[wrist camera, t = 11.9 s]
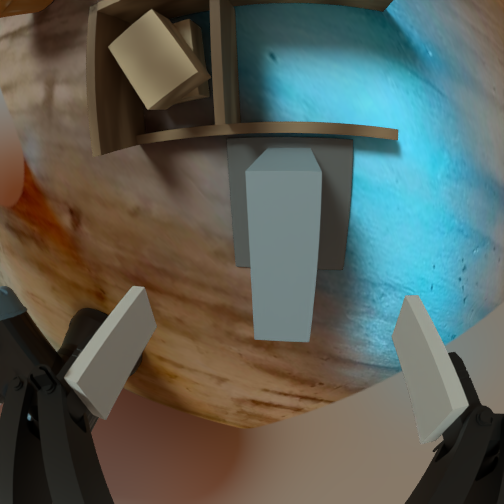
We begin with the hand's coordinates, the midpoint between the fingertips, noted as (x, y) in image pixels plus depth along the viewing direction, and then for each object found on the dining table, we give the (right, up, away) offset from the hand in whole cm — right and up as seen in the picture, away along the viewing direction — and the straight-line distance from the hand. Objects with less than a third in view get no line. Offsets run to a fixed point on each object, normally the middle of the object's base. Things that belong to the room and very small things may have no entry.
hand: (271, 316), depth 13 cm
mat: (+3, +8, +14) cm, 17 cm away
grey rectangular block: (+3, +8, +14) cm, 16 cm away
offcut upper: (-9, +20, +6) cm, 23 cm away
